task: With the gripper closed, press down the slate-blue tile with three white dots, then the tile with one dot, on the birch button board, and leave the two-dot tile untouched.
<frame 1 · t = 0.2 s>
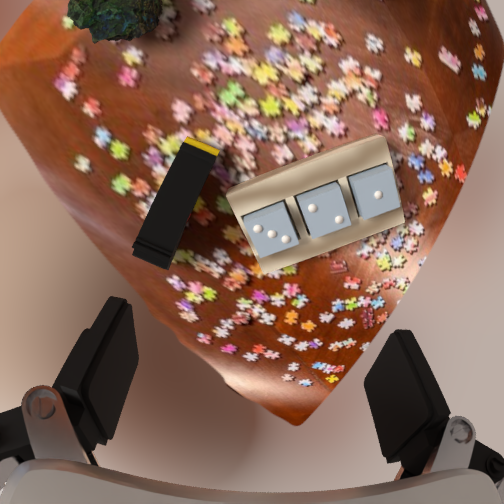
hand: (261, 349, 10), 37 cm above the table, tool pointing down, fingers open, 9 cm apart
toy gun: (179, 202, 47), on the table
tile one: (375, 192, 40), point 4 cm above the table, slide at 0.0 cm
tile two: (324, 210, 42), point 4 cm above the table, slide at 0.0 cm
board: (318, 200, 46), on the table
tile three: (271, 230, 43), point 4 cm above the table, slide at 0.0 cm
rock: (122, 15, 31), on the table
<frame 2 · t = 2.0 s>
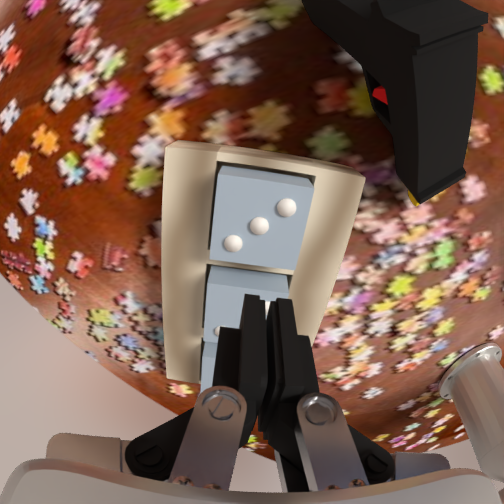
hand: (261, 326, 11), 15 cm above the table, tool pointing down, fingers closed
toy gun: (379, 78, 20), on the table
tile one: (233, 371, 28), point 4 cm above the table, slide at 0.0 cm
tile two: (243, 310, 24), point 4 cm above the table, slide at 0.0 cm
board: (245, 280, 28), on the table
tile three: (259, 218, 21), point 4 cm above the table, slide at 0.0 cm
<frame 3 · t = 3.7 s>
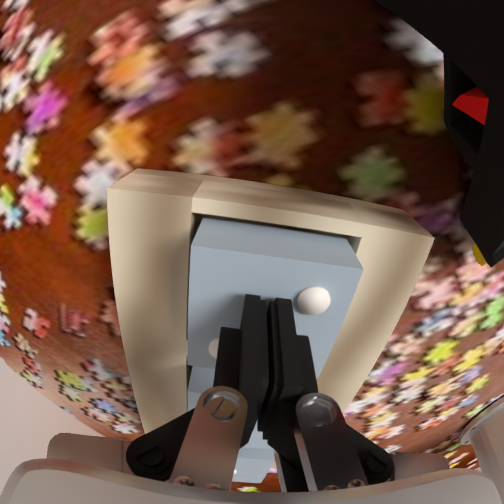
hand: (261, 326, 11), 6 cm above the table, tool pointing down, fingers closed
toy gun: (445, 77, 11), on the table
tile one: (229, 458, 20), point 4 cm above the table, slide at 0.0 cm
tile two: (241, 410, 16), point 4 cm above the table, slide at 0.0 cm
board: (244, 358, 20), on the table
tile three: (265, 307, 13), point 4 cm above the table, slide at 0.1 cm, touching gripper
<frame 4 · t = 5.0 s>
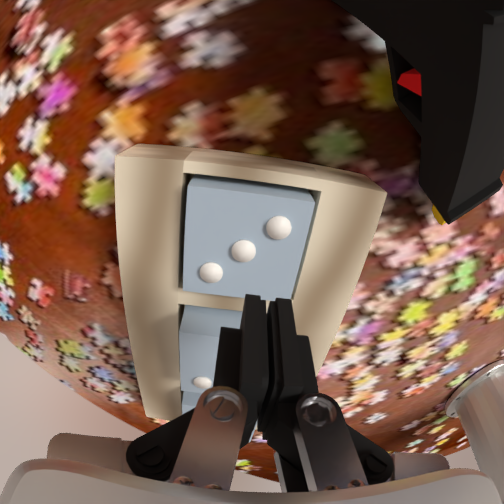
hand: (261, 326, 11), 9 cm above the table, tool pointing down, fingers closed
toy gun: (400, 62, 14), on the table
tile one: (219, 415, 23), point 4 cm above the table, slide at 0.0 cm
tile two: (227, 357, 19), point 4 cm above the table, slide at 0.0 cm
board: (230, 314, 23), on the table
tile three: (243, 239, 16), point 3 cm above the table, slide at 1.3 cm
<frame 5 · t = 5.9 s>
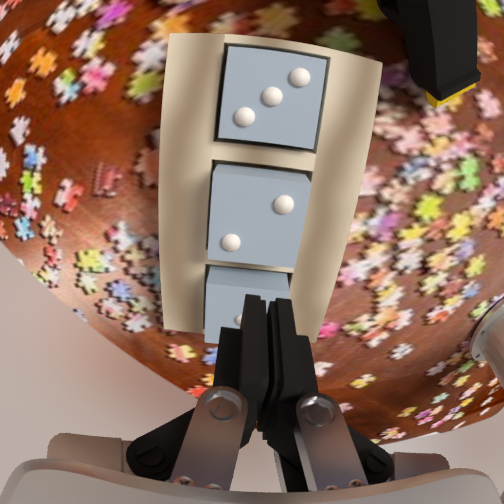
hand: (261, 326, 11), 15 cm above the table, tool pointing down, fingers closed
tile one: (244, 309, 24), point 4 cm above the table, slide at 0.0 cm
tile two: (256, 216, 20), point 4 cm above the table, slide at 0.0 cm
board: (256, 196, 24), on the table
tile three: (271, 96, 18), point 3 cm above the table, slide at 1.3 cm
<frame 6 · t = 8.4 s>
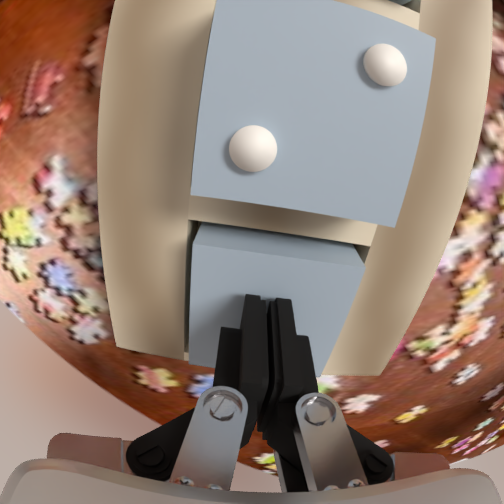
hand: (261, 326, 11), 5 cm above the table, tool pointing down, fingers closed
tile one: (267, 305, 12), point 3 cm above the table, slide at 1.0 cm, touching gripper
tile two: (313, 102, 8), point 4 cm above the table, slide at 0.0 cm
board: (295, 102, 12), on the table
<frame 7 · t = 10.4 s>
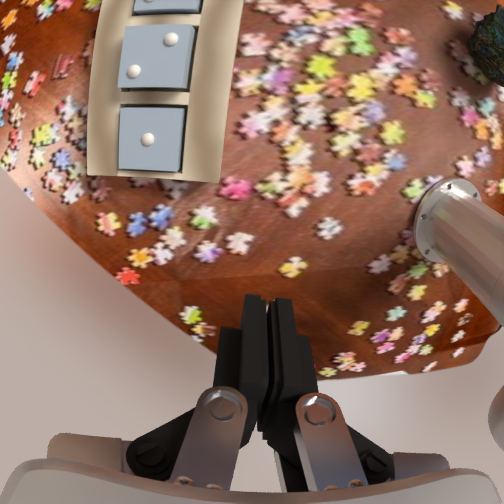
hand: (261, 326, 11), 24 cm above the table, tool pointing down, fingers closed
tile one: (151, 137, 27), point 3 cm above the table, slide at 1.2 cm
tile two: (155, 56, 22), point 4 cm above the table, slide at 0.0 cm
board: (166, 61, 26), on the table
rock: (491, 42, 23), on the table
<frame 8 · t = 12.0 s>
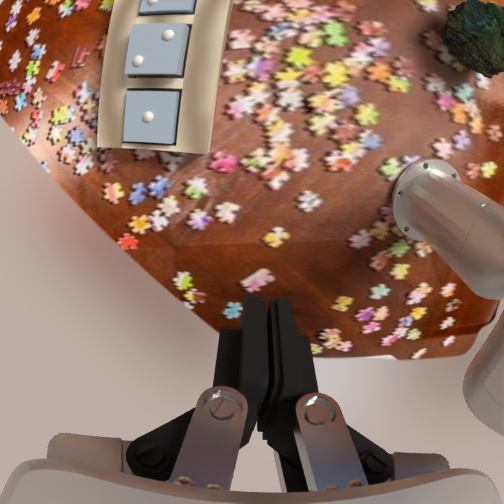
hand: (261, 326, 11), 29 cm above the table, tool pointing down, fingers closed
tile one: (151, 116, 31), point 3 cm above the table, slide at 1.2 cm
tile two: (156, 49, 26), point 4 cm above the table, slide at 0.0 cm
board: (167, 54, 30), on the table
rock: (468, 32, 26), on the table
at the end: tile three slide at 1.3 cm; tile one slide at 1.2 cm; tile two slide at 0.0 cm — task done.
